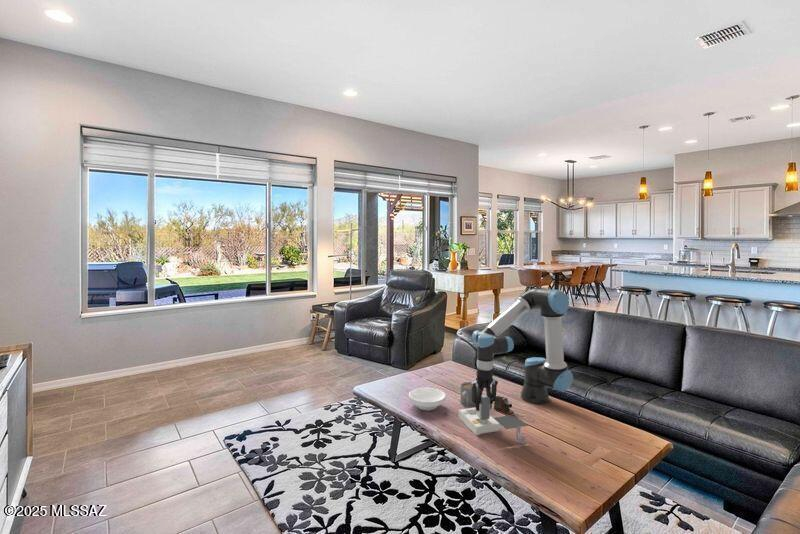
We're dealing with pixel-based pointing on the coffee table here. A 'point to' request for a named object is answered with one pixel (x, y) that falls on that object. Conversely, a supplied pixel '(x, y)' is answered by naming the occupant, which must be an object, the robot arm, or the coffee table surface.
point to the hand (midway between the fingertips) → (483, 416)
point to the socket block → (478, 421)
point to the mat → (510, 421)
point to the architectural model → (518, 437)
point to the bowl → (427, 398)
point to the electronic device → (502, 405)
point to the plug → (485, 407)
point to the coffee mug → (467, 394)
